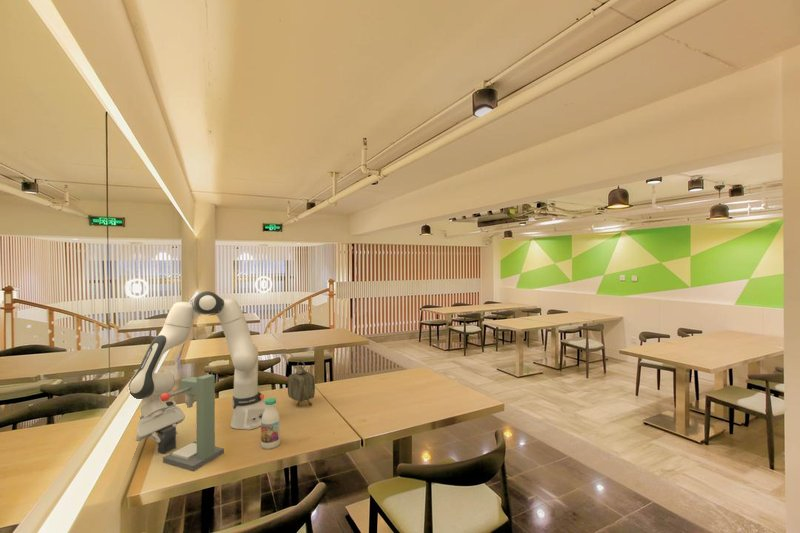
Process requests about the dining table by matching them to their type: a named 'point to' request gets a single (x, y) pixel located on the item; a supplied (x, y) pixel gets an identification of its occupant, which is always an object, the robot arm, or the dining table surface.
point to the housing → (167, 439)
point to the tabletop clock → (301, 385)
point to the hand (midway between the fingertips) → (168, 438)
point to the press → (205, 419)
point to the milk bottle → (270, 425)
